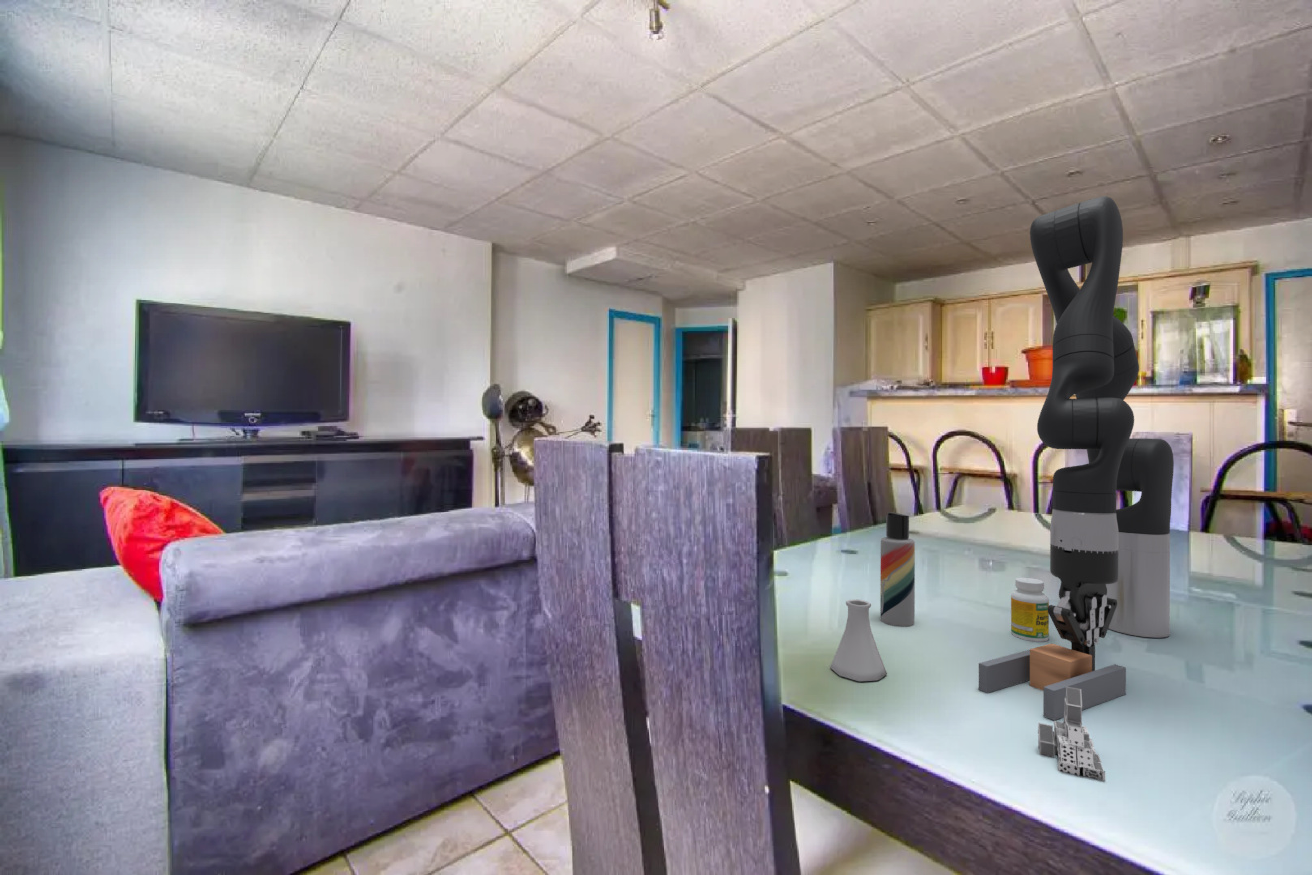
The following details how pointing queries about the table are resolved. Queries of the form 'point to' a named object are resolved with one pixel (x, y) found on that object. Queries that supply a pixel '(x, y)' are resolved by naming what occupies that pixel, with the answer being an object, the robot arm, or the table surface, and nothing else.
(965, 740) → the table surface
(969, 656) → the table surface
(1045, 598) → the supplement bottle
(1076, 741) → the house of cards
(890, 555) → the lotion bottle
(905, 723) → the table surface
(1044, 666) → the terracotta block
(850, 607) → the flask
